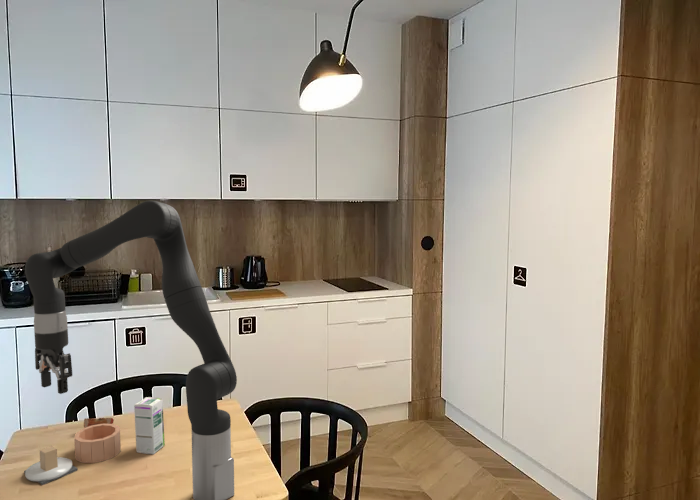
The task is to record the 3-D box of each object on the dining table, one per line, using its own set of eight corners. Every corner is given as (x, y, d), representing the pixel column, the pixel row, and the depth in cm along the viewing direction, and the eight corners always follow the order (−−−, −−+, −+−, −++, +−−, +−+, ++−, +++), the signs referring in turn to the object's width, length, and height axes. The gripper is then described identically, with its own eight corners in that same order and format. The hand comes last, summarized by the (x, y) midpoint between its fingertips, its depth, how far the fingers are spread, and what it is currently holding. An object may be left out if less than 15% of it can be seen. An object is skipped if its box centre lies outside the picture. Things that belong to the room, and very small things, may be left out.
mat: (77, 470, 141) (77, 468, 141) (42, 485, 133) (42, 482, 133) (59, 459, 147) (59, 457, 146) (24, 472, 139) (24, 470, 139)
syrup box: (154, 454, 150) (152, 405, 148) (135, 452, 151) (133, 403, 149) (165, 445, 155) (163, 398, 154) (146, 443, 156) (145, 396, 155)
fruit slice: (80, 438, 160) (79, 422, 159) (90, 428, 166) (89, 413, 166) (108, 437, 160) (107, 421, 159) (117, 428, 167) (116, 412, 166)
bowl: (128, 450, 152) (128, 430, 151) (89, 467, 143) (88, 445, 142) (106, 439, 159) (105, 420, 158) (67, 454, 149) (66, 434, 149)
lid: (80, 468, 141) (79, 447, 140) (37, 485, 132) (35, 463, 131) (60, 456, 147) (59, 436, 146) (17, 472, 138) (16, 451, 138)
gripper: (80, 329, 136) (83, 390, 137) (52, 322, 144) (55, 380, 145) (49, 335, 129) (53, 399, 131) (22, 328, 138) (26, 388, 139)
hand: (54, 389), depth 138 cm, fingers open, 8 cm apart
